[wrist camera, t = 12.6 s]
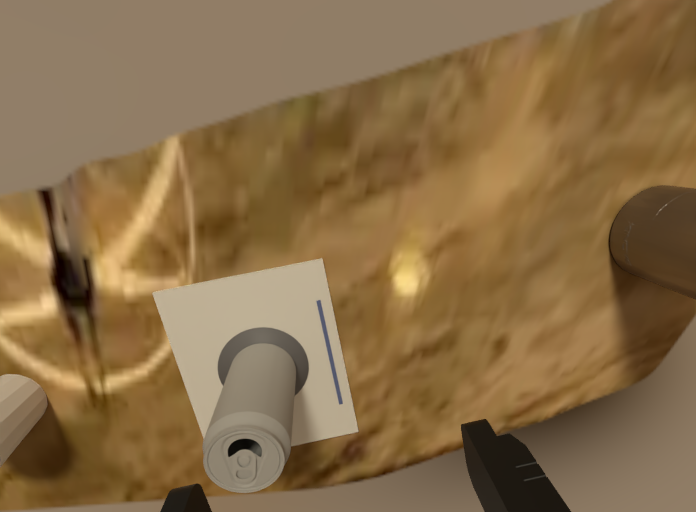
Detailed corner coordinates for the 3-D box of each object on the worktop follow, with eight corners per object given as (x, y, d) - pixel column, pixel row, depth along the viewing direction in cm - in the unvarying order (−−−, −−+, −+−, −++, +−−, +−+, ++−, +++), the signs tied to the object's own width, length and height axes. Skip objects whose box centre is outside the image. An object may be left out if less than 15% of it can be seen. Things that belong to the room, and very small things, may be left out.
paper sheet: (322, 258, 36) (322, 259, 36) (358, 429, 42) (358, 432, 42) (153, 291, 36) (151, 293, 35) (213, 461, 41) (212, 464, 41)
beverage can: (297, 340, 38) (291, 424, 27) (295, 396, 40) (288, 497, 28) (231, 338, 37) (196, 423, 26) (231, 395, 39) (198, 499, 28)
